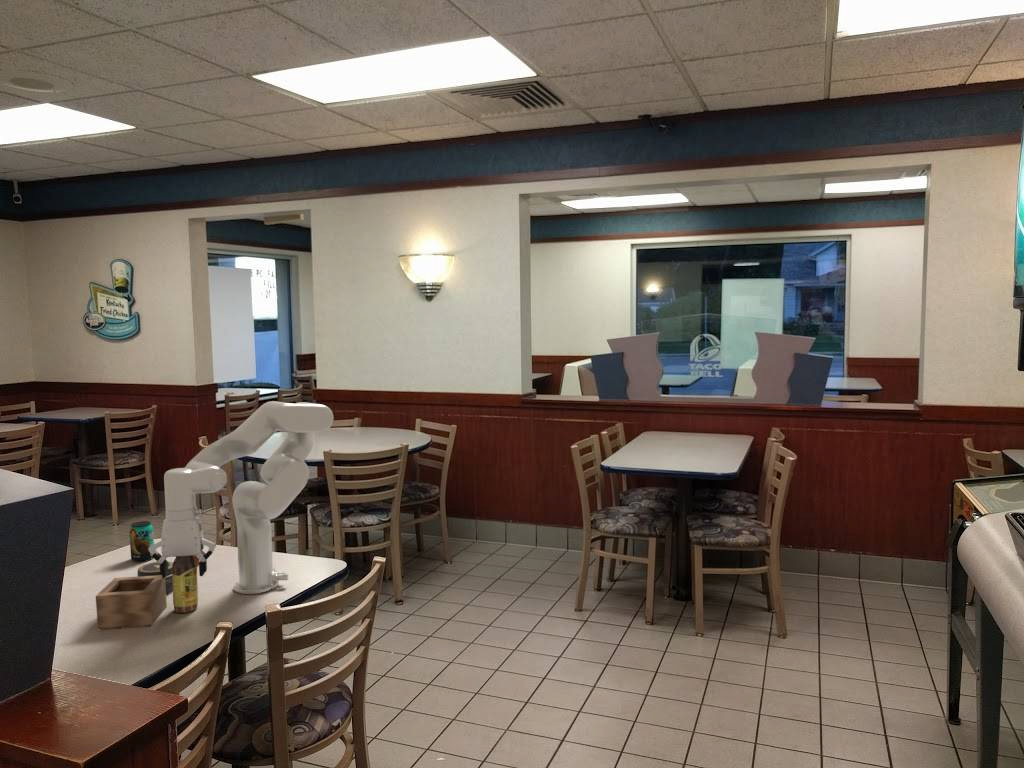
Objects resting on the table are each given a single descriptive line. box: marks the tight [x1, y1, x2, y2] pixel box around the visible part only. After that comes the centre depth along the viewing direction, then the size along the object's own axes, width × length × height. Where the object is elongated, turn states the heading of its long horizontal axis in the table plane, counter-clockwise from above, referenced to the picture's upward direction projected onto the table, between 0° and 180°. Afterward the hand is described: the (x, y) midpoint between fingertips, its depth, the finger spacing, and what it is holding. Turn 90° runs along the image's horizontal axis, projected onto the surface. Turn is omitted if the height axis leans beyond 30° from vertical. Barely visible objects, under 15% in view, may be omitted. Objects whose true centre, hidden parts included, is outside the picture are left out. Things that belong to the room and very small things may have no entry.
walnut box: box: [95, 575, 168, 630], centre depth 198 cm, size 13×13×9 cm
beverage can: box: [128, 520, 155, 562], centre depth 245 cm, size 7×7×12 cm
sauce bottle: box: [172, 556, 199, 614], centre depth 203 cm, size 7×6×20 cm
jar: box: [137, 561, 173, 595], centre depth 216 cm, size 10×10×8 cm
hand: (183, 575), depth 203 cm, fingers open, 9 cm apart
